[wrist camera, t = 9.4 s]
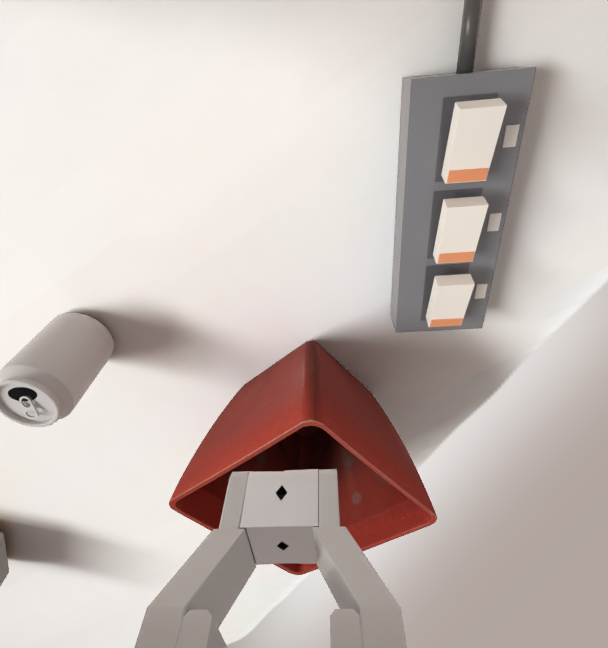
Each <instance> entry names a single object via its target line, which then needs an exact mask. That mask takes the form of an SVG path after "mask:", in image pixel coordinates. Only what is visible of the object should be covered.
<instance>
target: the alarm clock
mask: <svg viewBox="0 0 608 648" xmlns="http://www.w3.org/2000/svg"><path fill="white" fill-rule="evenodd" d="M8 573H9V567H8V560H7V553H6V546H5V539H4V534H3V533H2V532H0V586H1V584H2V583H3V581H4V579H5V578H6V576H7V574H8Z"/></svg>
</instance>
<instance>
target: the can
mask: <svg viewBox="0 0 608 648" xmlns="http://www.w3.org/2000/svg"><path fill="white" fill-rule="evenodd" d="M113 351H114V341H113V338H112V335H111V334H110V333H109V331H108V330H107V328H106V327H105V326H104V325H103V324H101V323H100V322H99V321H98V320H96V319H94V318H92V317H90V316H88V315H84V314H80V313H64V314H61V315H58V316H57V317H56V318H54V319H53V320H52V321H51V322H50V323H49V324H48V325H47V326H46V327H45V328H44V329H43V330H42V331H41V332H39V333H38V334H37V335H36V336H35V337H34V338H33V339H32V340H31V341H30V342H29V343H28V344H27V345H26V346H25V347H24V348H23V349H22V350H21V351H20V352H19V353H18V354H17V355H16V356H15V357H13V358H12V359H11V360H10V361H9V362H8V363H7V364H6V365H5V366H4V367H3V368H2V369H1V370H0V412H1V413H2V414H3V415H4V416H6V417H8V418H9V419H11V420H12V421H15V422H17V423H20V424H22V425H26V426H31V427H45V426H49V425H52V424H53V423H55V422H56V421H57V420H58V419H62V418H64V417H66V416H67V415H69V414H70V413H71V412H72V410H73V409H74V407H75V406H76V405H77V403H78V402H79V400H80V399H81V398H82V396H83V395H84V393H85V392H86V390H87V389H88V388H89V386H90V385H91V383H92V382H93V381H94V379H95V378H96V376H97V375H98V374H99V372H100V371H101V369H102V368H103V366H104V365H105V364H106V362H107V361H108V359H109V358H110V357H111V355H112V353H113Z"/></svg>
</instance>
